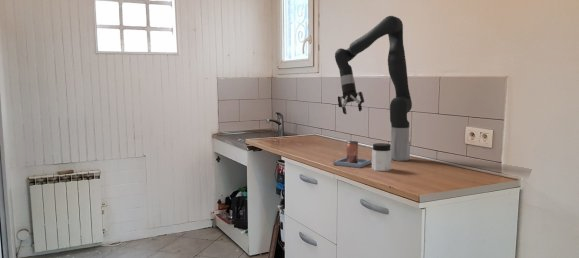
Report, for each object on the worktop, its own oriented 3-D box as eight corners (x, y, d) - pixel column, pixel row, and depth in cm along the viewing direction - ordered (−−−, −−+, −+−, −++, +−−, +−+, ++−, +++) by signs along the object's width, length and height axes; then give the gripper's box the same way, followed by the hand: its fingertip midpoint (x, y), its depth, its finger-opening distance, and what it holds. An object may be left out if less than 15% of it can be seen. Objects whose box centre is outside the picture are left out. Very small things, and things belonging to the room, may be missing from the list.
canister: (359, 163, 223) (359, 141, 221) (355, 165, 218) (355, 142, 216) (349, 162, 226) (349, 140, 224) (344, 163, 221) (344, 142, 219)
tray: (370, 163, 224) (370, 159, 224) (359, 167, 212) (359, 164, 212) (345, 160, 231) (345, 157, 231) (333, 165, 219) (333, 161, 219)
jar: (370, 170, 206) (371, 145, 204) (372, 167, 214) (373, 142, 212) (390, 171, 203) (390, 145, 202) (391, 168, 211) (392, 143, 210)
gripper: (333, 86, 245) (338, 114, 243) (358, 80, 238) (363, 109, 237) (338, 87, 251) (343, 115, 250) (362, 82, 245) (367, 110, 243)
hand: (352, 112), depth 243 cm, fingers open, 8 cm apart
